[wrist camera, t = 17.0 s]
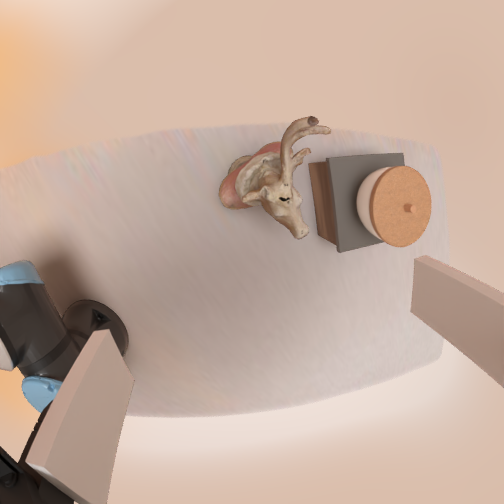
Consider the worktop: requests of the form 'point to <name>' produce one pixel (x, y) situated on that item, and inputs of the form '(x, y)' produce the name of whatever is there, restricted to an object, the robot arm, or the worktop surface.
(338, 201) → the block
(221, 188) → the decorative bust
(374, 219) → the lidded jar
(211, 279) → the worktop surface
